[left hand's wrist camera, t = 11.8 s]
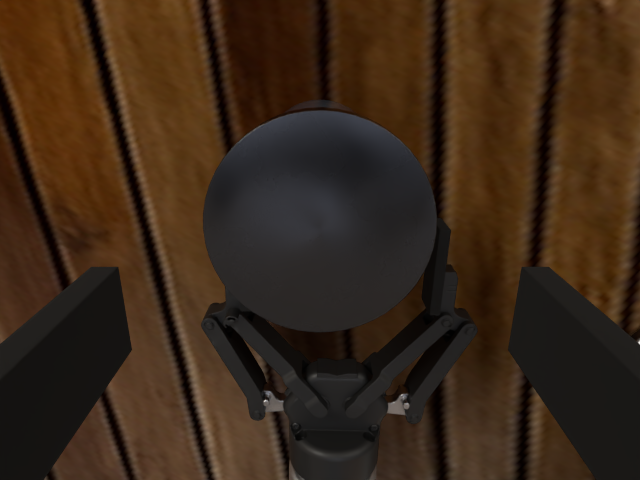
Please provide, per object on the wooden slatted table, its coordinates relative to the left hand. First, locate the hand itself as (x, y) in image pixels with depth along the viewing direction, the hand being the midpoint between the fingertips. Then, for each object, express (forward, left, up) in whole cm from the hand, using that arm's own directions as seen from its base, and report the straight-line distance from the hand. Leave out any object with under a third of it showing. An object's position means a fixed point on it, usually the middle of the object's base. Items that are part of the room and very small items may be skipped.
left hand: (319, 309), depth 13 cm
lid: (0, 0, -7) cm, 7 cm away
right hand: (-3, -1, -19) cm, 19 cm away
